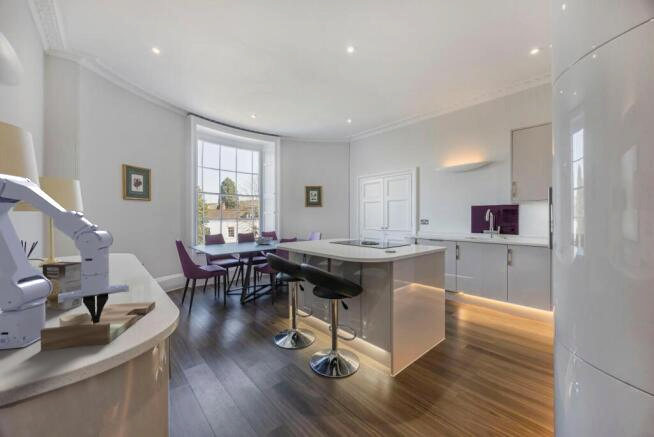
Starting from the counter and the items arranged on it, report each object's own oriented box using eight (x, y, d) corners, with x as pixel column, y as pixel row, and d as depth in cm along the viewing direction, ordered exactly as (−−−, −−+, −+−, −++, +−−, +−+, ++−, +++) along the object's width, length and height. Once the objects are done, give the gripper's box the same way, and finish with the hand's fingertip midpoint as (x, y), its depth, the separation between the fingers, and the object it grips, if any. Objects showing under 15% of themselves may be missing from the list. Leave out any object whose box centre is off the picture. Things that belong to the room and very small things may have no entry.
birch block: (64, 337, 65) (64, 321, 65) (59, 332, 68) (59, 317, 68) (90, 330, 69) (90, 315, 69) (85, 326, 72) (85, 311, 72)
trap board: (107, 343, 66) (107, 324, 66) (40, 350, 62) (40, 329, 62) (155, 306, 93) (155, 293, 93) (110, 310, 90) (110, 295, 90)
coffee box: (41, 310, 91) (40, 264, 91) (61, 304, 97) (61, 261, 97) (64, 310, 90) (64, 264, 90) (83, 304, 96) (83, 261, 96)
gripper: (126, 267, 80) (127, 311, 80) (59, 275, 70) (59, 325, 70) (129, 271, 74) (130, 318, 74) (56, 279, 65) (57, 333, 65)
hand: (96, 322), depth 72 cm, fingers closed
